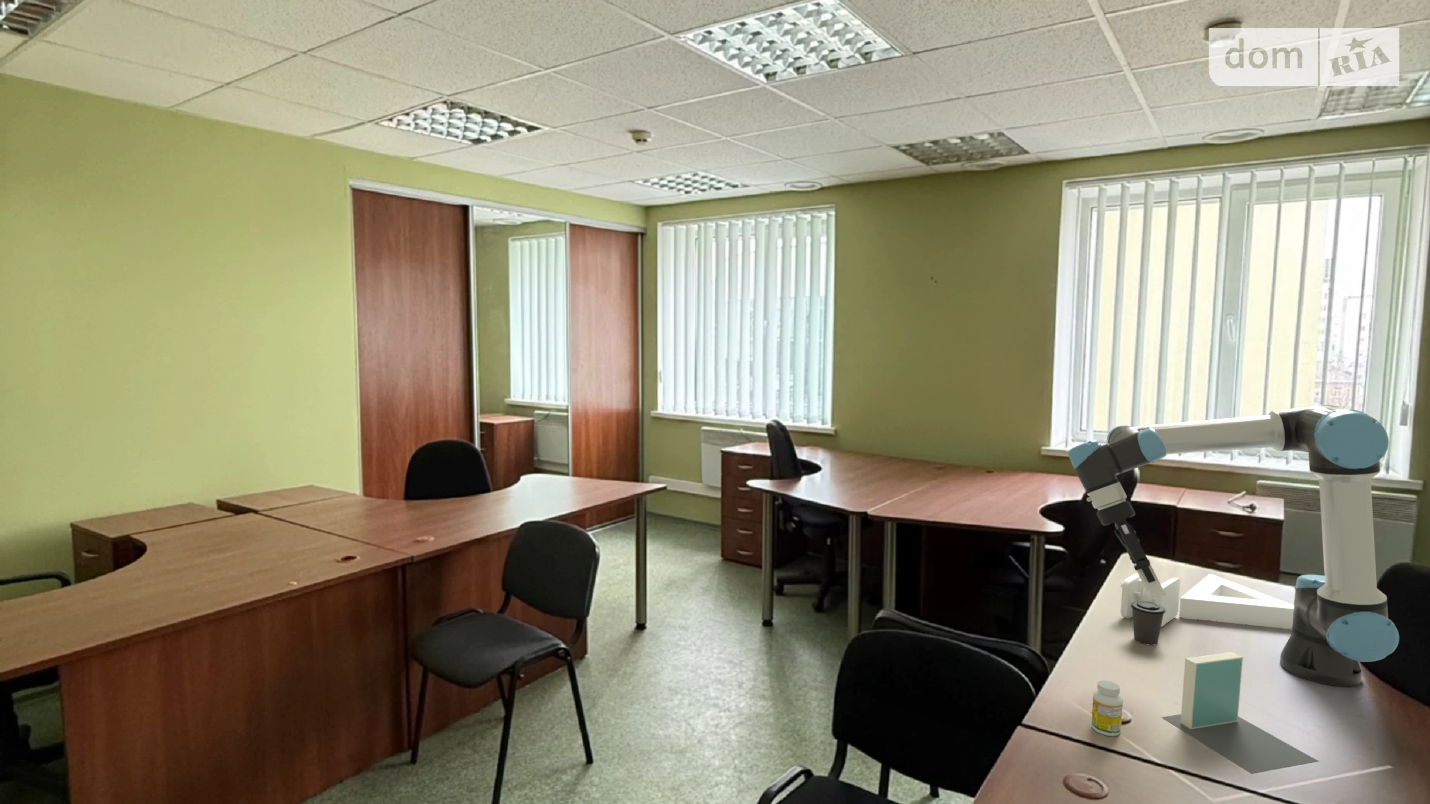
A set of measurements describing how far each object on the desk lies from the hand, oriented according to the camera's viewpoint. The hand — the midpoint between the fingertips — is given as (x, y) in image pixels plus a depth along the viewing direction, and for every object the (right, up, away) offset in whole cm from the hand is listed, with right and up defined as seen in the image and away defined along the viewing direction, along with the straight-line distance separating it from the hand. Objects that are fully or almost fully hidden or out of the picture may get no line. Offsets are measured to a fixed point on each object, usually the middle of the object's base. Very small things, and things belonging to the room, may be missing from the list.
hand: (1156, 593), depth 168 cm
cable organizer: (+22, -18, +41) cm, 50 cm away
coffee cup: (+13, -19, +26) cm, 34 cm away
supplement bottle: (-20, -24, -17) cm, 35 cm away
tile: (+2, -23, -15) cm, 27 cm away
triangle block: (+49, -17, +49) cm, 71 cm away
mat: (+4, -24, -21) cm, 32 cm away
